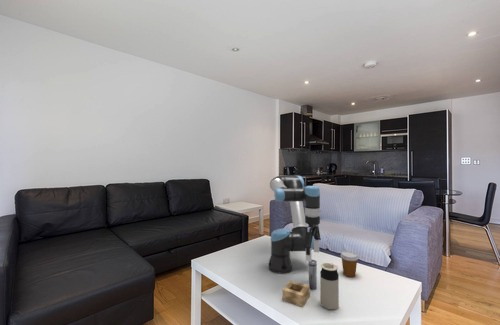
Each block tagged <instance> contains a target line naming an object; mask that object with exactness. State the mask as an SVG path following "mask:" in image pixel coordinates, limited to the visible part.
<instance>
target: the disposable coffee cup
mask: <svg viewBox="0 0 500 325" xmlns="http://www.w3.org/2000/svg"><path fill="white" fill-rule="evenodd" d="M340 258H341V264H342V272H343V275H344V276H345V277H347V278H355V277H356V273H357V264H358V260H359V256H358V254H357V253H356V252H352V251H341V253H340Z"/></svg>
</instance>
